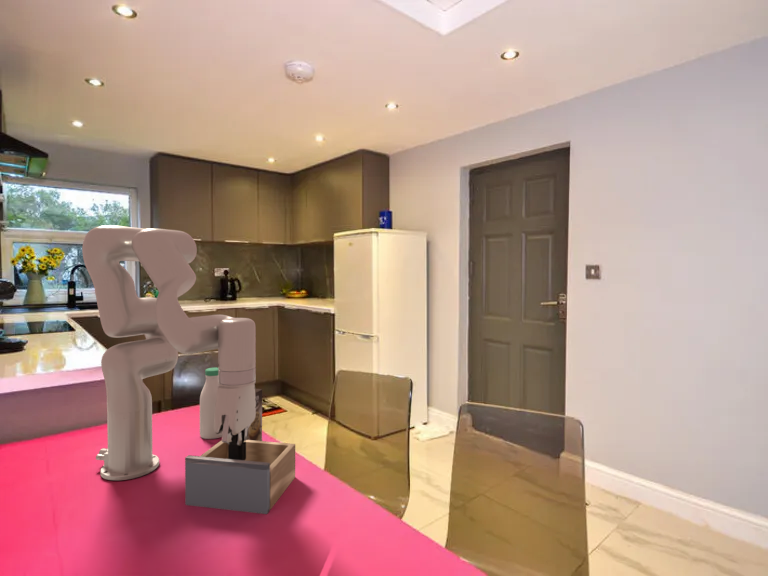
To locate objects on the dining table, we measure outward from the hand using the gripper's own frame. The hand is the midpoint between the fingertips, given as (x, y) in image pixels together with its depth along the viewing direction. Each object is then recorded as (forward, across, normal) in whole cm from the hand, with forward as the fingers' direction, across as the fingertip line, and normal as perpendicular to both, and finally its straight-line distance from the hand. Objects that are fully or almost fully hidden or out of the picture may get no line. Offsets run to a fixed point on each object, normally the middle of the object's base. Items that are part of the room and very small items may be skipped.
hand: (237, 460), depth 93 cm
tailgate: (+8, +4, 0) cm, 9 cm away
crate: (+9, -4, 0) cm, 10 cm away
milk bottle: (+9, -33, -25) cm, 42 cm away
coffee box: (+9, -25, -11) cm, 29 cm away
